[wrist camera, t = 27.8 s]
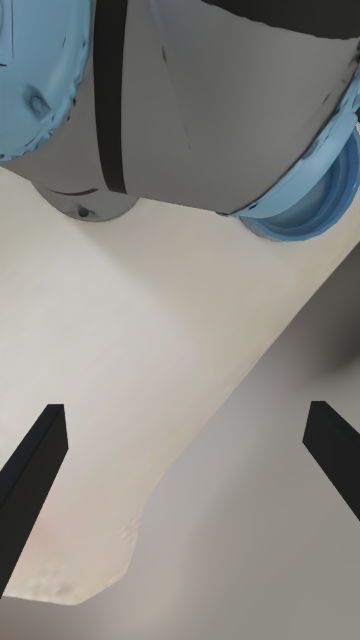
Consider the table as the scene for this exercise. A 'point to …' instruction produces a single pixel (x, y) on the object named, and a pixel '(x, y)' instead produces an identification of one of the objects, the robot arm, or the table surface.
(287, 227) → the bowl
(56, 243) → the table surface
